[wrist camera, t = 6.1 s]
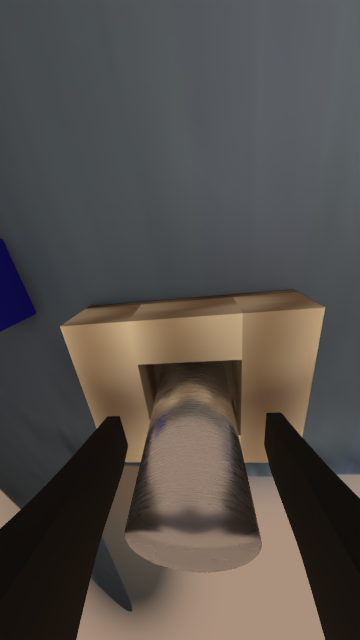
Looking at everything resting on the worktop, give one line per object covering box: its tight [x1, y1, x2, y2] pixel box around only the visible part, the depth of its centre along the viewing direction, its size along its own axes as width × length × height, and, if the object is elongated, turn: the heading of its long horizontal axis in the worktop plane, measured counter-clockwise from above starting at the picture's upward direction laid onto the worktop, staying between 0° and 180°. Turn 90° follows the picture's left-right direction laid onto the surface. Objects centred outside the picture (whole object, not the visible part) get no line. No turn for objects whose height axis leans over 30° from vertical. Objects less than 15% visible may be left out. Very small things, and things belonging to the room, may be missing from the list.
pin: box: [125, 361, 262, 572], centre depth 10 cm, size 4×4×8 cm
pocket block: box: [60, 290, 325, 462], centre depth 12 cm, size 12×10×3 cm
